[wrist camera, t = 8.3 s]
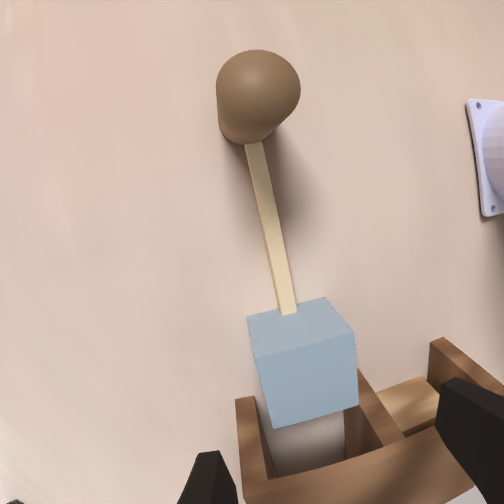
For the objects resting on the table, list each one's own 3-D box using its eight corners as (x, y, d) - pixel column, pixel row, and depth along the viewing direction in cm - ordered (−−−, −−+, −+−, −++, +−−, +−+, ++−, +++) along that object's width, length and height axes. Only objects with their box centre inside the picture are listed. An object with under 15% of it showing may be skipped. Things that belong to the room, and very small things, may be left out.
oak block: (420, 374, 20) (452, 408, 16) (415, 416, 21) (441, 449, 17) (366, 395, 20) (392, 435, 16) (366, 435, 21) (387, 474, 17)
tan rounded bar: (282, 87, 15) (313, 43, 9) (333, 361, 19) (369, 422, 13) (196, 103, 15) (183, 63, 9) (263, 380, 19) (277, 449, 13)
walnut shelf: (443, 336, 20) (512, 392, 12) (430, 430, 22) (473, 486, 14) (235, 399, 19) (243, 497, 11) (263, 484, 21) (276, 560, 14)
